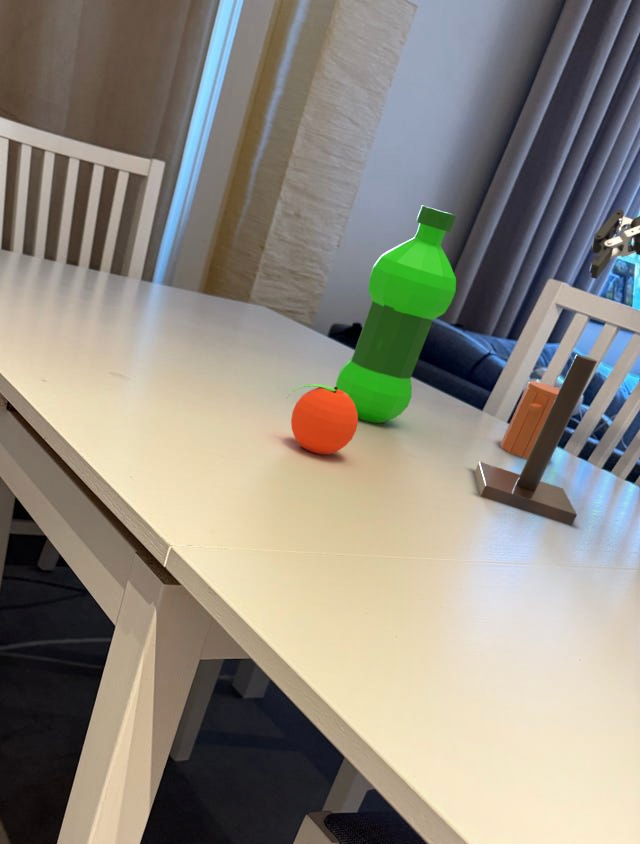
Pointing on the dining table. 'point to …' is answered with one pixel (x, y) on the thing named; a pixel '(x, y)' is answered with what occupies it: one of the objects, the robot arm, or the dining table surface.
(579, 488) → the dining table surface
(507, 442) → the orange letterbox
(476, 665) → the dining table surface
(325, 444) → the clementine
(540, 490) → the stand
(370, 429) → the dining table surface
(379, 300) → the plastic bottle
